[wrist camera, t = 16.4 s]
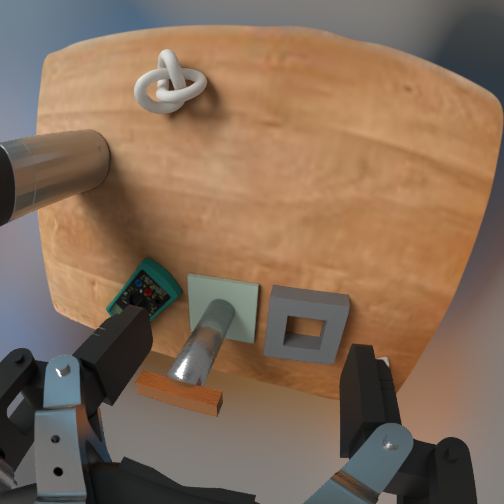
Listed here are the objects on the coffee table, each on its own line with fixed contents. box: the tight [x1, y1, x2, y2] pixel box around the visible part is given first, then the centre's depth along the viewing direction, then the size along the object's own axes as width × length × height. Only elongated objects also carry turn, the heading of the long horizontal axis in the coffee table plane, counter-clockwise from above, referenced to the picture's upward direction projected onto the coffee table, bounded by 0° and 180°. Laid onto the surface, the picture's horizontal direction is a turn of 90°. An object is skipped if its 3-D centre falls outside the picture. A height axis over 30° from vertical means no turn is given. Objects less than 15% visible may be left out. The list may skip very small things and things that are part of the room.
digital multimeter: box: [106, 258, 182, 322], centre depth 44 cm, size 7×15×3 cm, turn 136°
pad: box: [187, 273, 259, 344], centre depth 42 cm, size 10×10×1 cm
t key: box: [135, 299, 235, 417], centre depth 34 cm, size 9×4×17 cm, turn 87°
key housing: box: [264, 285, 350, 365], centre depth 39 cm, size 10×10×3 cm
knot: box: [134, 49, 207, 114], centre depth 29 cm, size 8×8×6 cm
